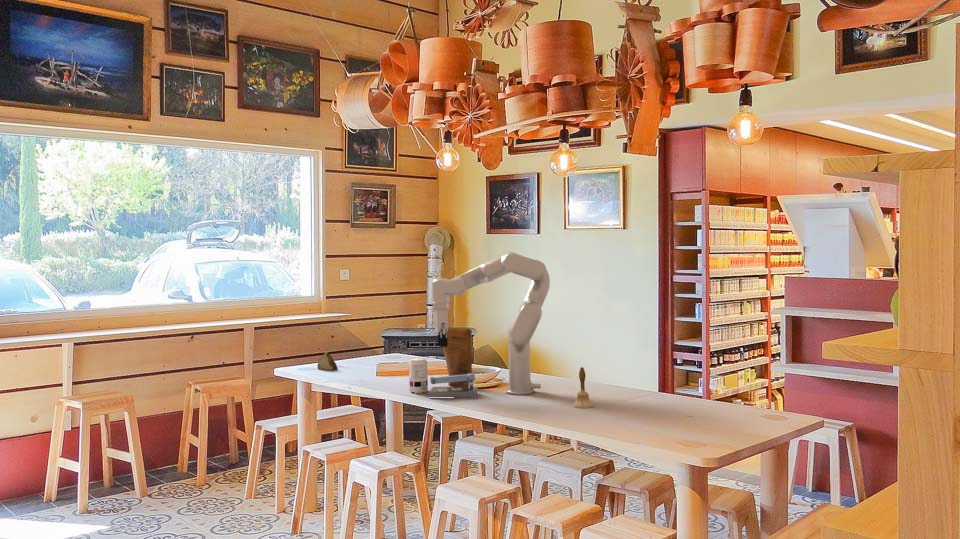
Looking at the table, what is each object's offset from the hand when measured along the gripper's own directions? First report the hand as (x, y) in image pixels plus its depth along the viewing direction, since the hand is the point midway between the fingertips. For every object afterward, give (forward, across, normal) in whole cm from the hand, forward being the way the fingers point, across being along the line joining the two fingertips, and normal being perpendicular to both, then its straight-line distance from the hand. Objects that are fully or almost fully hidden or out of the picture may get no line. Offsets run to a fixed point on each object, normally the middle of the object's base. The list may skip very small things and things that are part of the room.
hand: (442, 344), depth 346 cm
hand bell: (+23, +37, +53) cm, 69 cm away
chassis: (+22, +5, +4) cm, 23 cm away
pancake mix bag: (+22, -14, +8) cm, 28 cm away
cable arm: (+16, +5, +4) cm, 17 cm away
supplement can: (+22, -8, -11) cm, 26 cm away
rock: (+22, -77, -54) cm, 96 cm away
